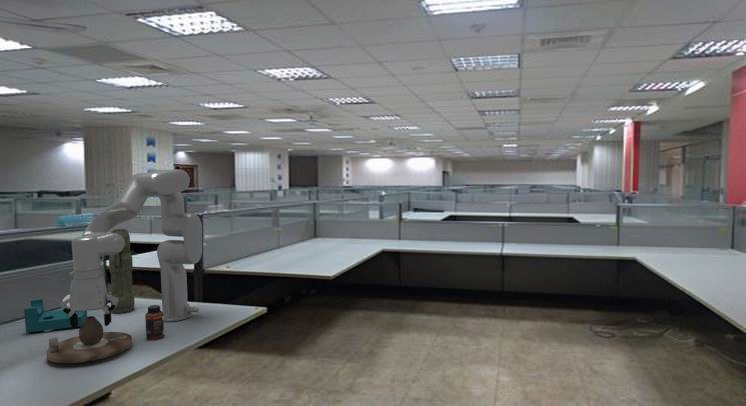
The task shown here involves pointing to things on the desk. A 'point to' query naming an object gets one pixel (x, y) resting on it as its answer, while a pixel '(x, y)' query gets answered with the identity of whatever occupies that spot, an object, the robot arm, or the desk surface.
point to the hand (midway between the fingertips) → (91, 326)
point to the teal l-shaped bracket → (48, 318)
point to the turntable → (87, 348)
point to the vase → (91, 331)
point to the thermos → (122, 276)
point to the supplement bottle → (154, 323)
